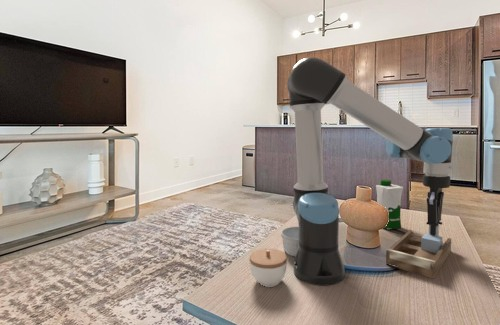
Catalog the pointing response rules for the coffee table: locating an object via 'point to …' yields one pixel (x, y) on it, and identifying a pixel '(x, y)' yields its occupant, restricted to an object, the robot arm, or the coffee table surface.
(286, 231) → the ramekin
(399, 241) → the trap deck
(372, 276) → the coffee table surface
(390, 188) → the milk carton
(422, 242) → the blue block
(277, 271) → the lidded jar
